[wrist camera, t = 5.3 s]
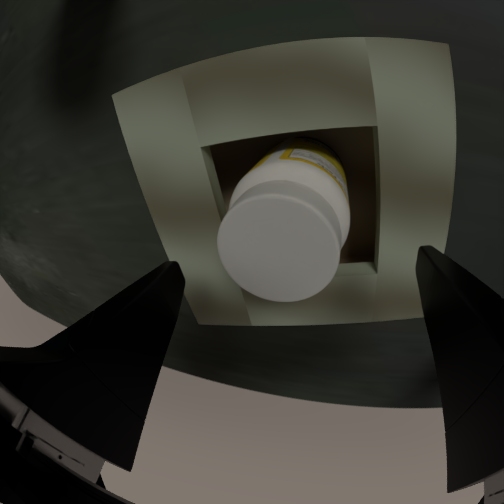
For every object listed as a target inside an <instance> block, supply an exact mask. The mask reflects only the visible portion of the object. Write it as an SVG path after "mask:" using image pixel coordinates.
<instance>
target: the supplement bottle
mask: <svg viewBox="0 0 504 504" xmlns="http://www.w3.org/2000/svg"><path fill="white" fill-rule="evenodd" d="M349 227H350V207H349V199H348V190H347V182H346V175H345V169H344V166H343V163H342V161H341V159H340V157H339V156H338V154H337V153H336V152H335V151H334V149H333V148H331V147H330V146H329V145H328V144H326V143H325V142H323V141H321V140H319V139H316V138H313V137H309V136H295V137H291V138H287V139H285V140H283V141H281V142H279V143H278V144H276V145H275V146H274V147H272V148H271V149H270V151H269V152H268V153H267V154H266V155H265V156H264V157H263V158H262V159H261V160H260V161H259V162H258V163H257V164H256V165H255V166H254V167H253V168H252V169H251V170H250V171H249V172H248V173H247V174H246V175H245V176H244V177H243V178H242V179H241V180H240V181H239V183H238V184H237V186H236V188H235V190H234V192H233V194H232V197H231V200H230V204H229V211H228V212H227V213H226V215H225V216H224V218H223V220H222V222H221V224H220V227H219V230H218V235H217V248H218V253H219V257H220V260H221V262H222V265H223V267H224V268H225V270H226V272H227V273H228V274H229V276H230V277H231V278H232V279H233V280H234V281H235V282H236V283H237V284H238V285H239V286H240V287H242V288H243V289H244V290H246V291H248V292H250V293H251V294H253V295H255V296H258V297H260V298H263V299H266V300H271V301H276V302H294V301H300V300H303V299H306V298H309V297H312V296H313V295H315V294H317V293H319V292H320V291H321V290H323V289H324V288H325V287H326V286H327V285H328V284H329V283H330V282H331V280H332V279H333V277H334V275H335V273H336V271H337V268H338V265H339V261H340V251H341V248H342V247H343V245H344V243H345V241H346V239H347V236H348V232H349Z"/></svg>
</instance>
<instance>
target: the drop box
mask: <svg viewBox="0 0 504 504" xmlns="http://www.w3.org/2000/svg"><path fill="white" fill-rule="evenodd" d="M112 98H113V102H114V105H115V109H116V112H117V116H118V119H119V123H120V126H121V129H122V132H123V136H124V139H125V142H126V145H127V148H128V151H129V154H130V157H131V160H132V163H133V166H134V169H135V172H136V175H137V178H138V181H139V184H140V186H141V189H142V192H143V195H144V197H145V200H146V203H147V205H148V208H149V211H150V213H151V216H152V219H153V221H154V224H155V226H156V229H157V231H158V234H159V236H160V239H161V241H162V244H163V246H164V248H165V251H166V253H167V256H168V258H169V260H170V261H177V262H178V263H179V265H180V268H181V270H182V272H183V275H184V277H185V281H186V284H185V289H184V294H185V296H186V299H187V301H188V303H189V305H190V307H191V309H192V311H193V313H194V316H195V318H196V320H197V322H198V324H203V325H237V326H291V325H325V324H346V323H362V322H376V321H388V320H399V319H409V318H419V317H424V315H423V310H422V305H421V299H420V293H419V288H418V283H417V278H416V272H415V267H416V261H417V254H418V249H419V247H420V246H424V245H431V246H433V247H434V248H436V249H437V250H439V251H440V252H442V253H443V254H444V250H445V245H446V240H447V234H448V228H449V222H450V215H451V207H452V199H453V189H454V177H455V161H456V109H455V93H454V82H453V73H452V65H451V58H450V51H449V45H448V44H444V43H438V42H431V41H422V40H413V39H401V38H382V37H346V38H326V39H314V40H304V41H295V42H287V43H280V44H274V45H268V46H262V47H257V48H252V49H247V50H242V51H238V52H233V53H229V54H225V55H221V56H217V57H214V58H210V59H206V60H203V61H199V62H196V63H193V64H190V65H187V66H183V67H180V68H177V69H174V70H172V71H169V72H166V73H163V74H161V75H158V76H155V77H153V78H150V79H148V80H145V81H143V82H140V83H138V84H135V85H133V86H131V87H128V88H126V89H124V90H122V91H120V92H117V93H115V94H113V95H112ZM295 136H309V137H313V138H316V139H319V140H321V141H323V142H325V143H326V144H328V145H329V146H330V147H331V148H333V149H334V151H335V152H336V153H337V154H338V156H339V157H340V159H341V161H342V163H343V166H344V169H345V175H346V182H347V190H348V199H349V207H350V227H349V232H348V236H347V239H346V241H345V243H344V245H343V247H342V248H341V251H340V261H339V265H338V268H337V271H336V273H335V275H334V277H333V279H332V280H331V282H330V283H329V284H328V285H327V286H326V287H325V288H324V289H323V290H321V291H320V292H319V293H317V294H315V295H313V296H312V297H309V298H306V299H303V300H300V301H294V302H276V301H271V300H266V299H263V298H260V297H258V296H255V295H253V294H251V293H250V292H248V291H246V290H244V289H243V288H242V287H240V286H239V285H238V284H237V283H236V282H235V281H234V280H233V279H232V278H231V277H230V276H229V274H228V273H227V272H226V270H225V268H224V267H223V265H222V262H221V260H220V257H219V253H218V248H217V235H218V230H219V227H220V224H221V222H222V220H223V218H224V216H225V215H226V213H227V212H228V211H229V204H230V200H231V197H232V194H233V192H234V190H235V188H236V186H237V184H238V183H239V181H240V180H241V179H242V178H243V177H244V176H245V175H246V174H247V173H248V172H249V171H250V170H251V169H252V168H253V167H254V166H255V165H256V164H257V163H258V162H259V161H260V160H261V159H262V158H263V157H264V156H265V155H266V154H267V153H268V152H269V151H270V149H271V148H272V147H274V146H275V145H276V144H278V143H279V142H281V141H283V140H285V139H287V138H291V137H295Z"/></svg>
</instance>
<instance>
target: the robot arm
mask: <svg viewBox="0 0 504 504" xmlns="http://www.w3.org/2000/svg"><path fill="white" fill-rule="evenodd" d="M415 272H416V278H417V283H418V288H419V293H420V299H421V305H422V310H423V315H424V319H425V323H426V327H427V330H428V334H429V339H430V343H431V347H432V352H433V356H434V361H435V366H436V371H437V376H438V382H439V388H440V394H441V401H442V408H443V416H444V424H445V432H446V433H445V438H446V450H447V451H446V453H447V493H451V492H454V491H458V490H461V489H464V488H467V487H470V486H472V485H475V484H478V483H480V482H483V481H484V496H483V498H482V499H481V500H480V502H479V503H478V504H504V299H503V298H501V296H500V295H498V294H497V293H496V292H495V291H493V290H492V289H491V288H490V287H488V286H487V285H486V284H484V283H483V282H482V281H480V280H479V279H478V278H477V277H475V276H474V275H473V274H471V273H470V272H468V271H467V270H466V269H464V268H463V267H462V266H460V265H459V264H457V263H456V262H455V261H453V260H452V259H450V258H449V257H448V256H446V255H445V254H443V253H442V252H440V251H439V250H437V249H436V248H434V247H433V246H431V245H424V246H420V247H419V249H418V254H417V261H416V267H415ZM185 284H186V281H185V277H184V275H183V272H182V270H181V268H180V265H179V263H178V262H177V261H166V262H165V263H163V264H161V265H160V266H158V267H157V268H155V269H154V270H152V271H151V272H149V273H148V274H146V275H145V276H143V277H142V278H140V279H139V280H137V281H136V282H134V283H133V284H131V285H130V286H128V287H127V288H125V289H124V290H122V291H121V292H119V293H118V294H116V295H115V296H114V297H112V298H111V299H109V300H108V301H106V302H105V303H103V304H102V305H100V306H99V307H98V308H96V309H95V310H94V311H92V312H90V313H89V314H87V315H86V316H85V317H83V318H82V319H80V320H79V321H77V322H76V323H74V324H73V325H71V326H70V327H68V328H67V329H65V330H63V331H62V332H60V333H59V334H57V335H55V336H54V337H52V338H51V339H49V340H48V341H46V342H45V343H43V344H41V345H39V346H36V347H31V348H21V347H2V346H0V503H3V504H135V503H132V502H130V501H128V500H126V499H123V498H122V497H119V496H117V495H115V494H113V493H111V492H110V491H108V490H106V488H105V485H104V483H103V480H102V477H101V474H100V472H101V469H102V466H103V464H104V462H105V461H107V462H109V463H111V464H113V465H115V466H117V467H120V468H122V469H124V470H127V471H129V472H131V469H132V467H133V463H134V459H135V455H136V451H137V448H138V444H139V440H140V436H141V433H142V430H143V426H144V423H145V419H146V415H147V412H148V408H149V405H150V402H151V398H152V395H153V392H154V389H155V385H156V382H157V379H158V376H159V373H160V370H161V367H162V364H163V360H164V357H165V354H166V351H167V348H168V345H169V342H170V339H171V336H172V333H173V330H174V328H175V325H176V321H177V318H178V314H179V310H180V306H181V301H182V297H183V293H184V289H185Z"/></svg>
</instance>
